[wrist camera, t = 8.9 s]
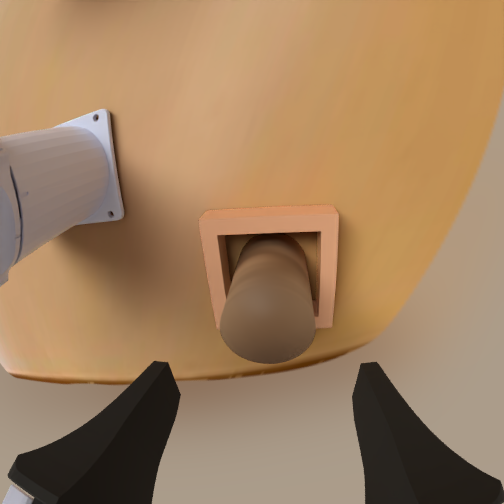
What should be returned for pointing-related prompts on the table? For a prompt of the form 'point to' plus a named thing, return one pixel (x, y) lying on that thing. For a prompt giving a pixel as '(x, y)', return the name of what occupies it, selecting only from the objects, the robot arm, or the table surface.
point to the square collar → (272, 221)
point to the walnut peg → (269, 302)
